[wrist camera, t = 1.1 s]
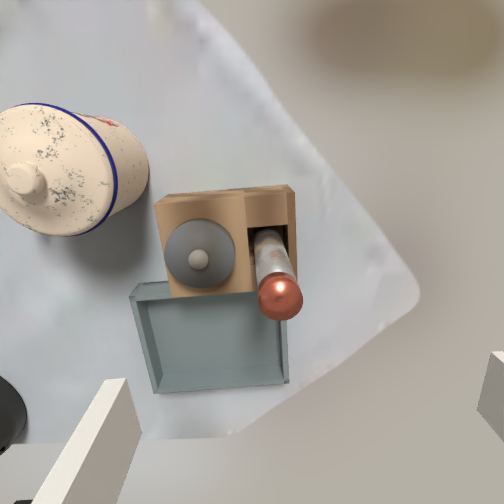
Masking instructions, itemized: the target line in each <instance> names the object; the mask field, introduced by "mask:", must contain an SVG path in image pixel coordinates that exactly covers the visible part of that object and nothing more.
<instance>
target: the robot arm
mask: <svg viewBox="0 0 504 504" xmlns="http://www.w3.org/2000/svg"><path fill="white" fill-rule="evenodd" d="M477 411H478V412H479V413H480V414H481V415H482V417H483V418H484V419H485V420H486V421H487V423H488V424H489V425H490V426H491V427H492V428H493V430H494V431H495V432H496V433H497V434H498V436H499V437H500V438H501V439H502V440H503V442H504V351H500V352H491V355H490V359H489V363H488V367H487V371H486V375H485V379H484V383H483V387H482V391H481V395H480V399H479V403H478V407H477ZM25 423H26V410H25V407H24V404H23V402H22V400H21V398H20V396H19V395H18V393H17V392H16V391H15V390H14V389H13V387H12V386H11V385H9V384H8V383H7V382H6V381H5V380H4V379H2V378H1V377H0V455H1V454H3V453H4V452H5V451H6V450H7V449H8V448H9V447H10V446H11V445H12V443H13V442H14V441H15V439H16V438H17V437H18V435H19V434H20V433H21V432H22V430H23V428H24V426H25ZM141 434H142V431H141V428H140V424H139V421H138V417H137V414H136V410H135V407H134V404H133V400H132V397H131V393H130V390H129V386H128V383H127V380H126V378H121V379H107V380H105V381H104V383H103V384H102V386H101V388H100V389H99V391H98V393H97V394H96V396H95V398H94V399H93V401H92V403H91V404H90V406H89V408H88V409H87V411H86V413H85V414H84V416H83V418H82V419H81V421H80V423H79V424H78V426H77V428H76V429H75V431H74V433H73V434H72V436H71V438H70V439H69V441H68V443H67V445H66V446H65V448H64V450H63V451H62V453H61V455H60V456H59V458H58V460H57V461H56V463H55V465H54V466H53V468H52V470H51V471H50V473H49V475H48V476H47V478H46V480H45V481H44V483H43V485H42V486H41V488H40V490H39V491H38V493H37V495H36V497H35V498H34V500H20V501H16V502H15V503H14V504H116V503H117V500H118V497H119V494H120V492H121V489H122V486H123V483H124V480H125V478H126V475H127V472H128V470H129V467H130V464H131V461H132V459H133V456H134V453H135V450H136V448H137V445H138V442H139V440H140V437H141Z"/></svg>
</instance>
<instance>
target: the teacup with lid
mask: <svg viewBox="0 0 504 504" xmlns="http://www.w3.org/2000/svg"><path fill="white" fill-rule="evenodd" d="M148 172H149V170H148V161H147V157H146V154H145V152H144V149H143V147H142V146H141V144H140V142H139V141H138V139H137V138H136V137H135V136H134V135H133V134H132V133H131V132H130V131H129V130H128V129H127V128H126V127H124V126H123V125H121V124H120V123H118V122H116V121H113V120H111V119H108V118H104V117H98V116H92V115H86V114H80V113H74V112H69V111H67V110H65V109H62V108H60V107H57V106H53V105H49V104H43V103H27V104H21V105H18V106H15V107H12V108H10V109H8V110H6V111H4V112H2V113H1V114H0V208H1V209H2V210H3V211H4V212H5V213H6V214H7V215H9V216H10V217H11V218H12V219H14V220H15V221H16V222H18V223H20V224H21V225H23V226H25V227H27V228H29V229H31V230H33V231H36V232H39V233H42V234H46V235H51V236H62V237H68V236H77V235H81V234H84V233H87V232H89V231H91V230H93V229H95V228H96V227H98V226H99V225H100V224H102V223H103V222H104V221H105V220H106V218H108V217H110V216H111V215H113V214H115V213H117V212H119V211H120V210H122V209H124V208H126V207H128V206H129V205H131V204H133V203H134V202H135V201H136V200H137V199H138V198H139V197H140V196H141V194H142V193H143V191H144V189H145V187H146V184H147V181H148Z"/></svg>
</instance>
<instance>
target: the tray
mask: <svg viewBox="0 0 504 504" xmlns="http://www.w3.org/2000/svg"><path fill="white" fill-rule="evenodd" d="M129 299H130V303H131V307H132V311H133V315H134V318H135V322H136V326H137V330H138V334H139V338H140V342H141V346H142V350H143V354H144V358H145V362H146V366H147V369H148V373H149V377H150V381H151V385H152V389H153V393H154V394H156V393H169V392H182V391H195V390H208V389H221V388H234V387H247V386H260V385H273V384H286V383H289V366H288V344H287V322H286V320H285V321H275V320H272V319H269V318H267V317H266V316H265V315H264V314H263V313H262V312H261V310H260V308H259V303H258V291H252V292H239V293H227V294H214V295H202V296H190V297H177V298H172V295H171V290H170V285H169V281H161V282H149V283H139V284H138V285H137V286H136V288H135V289H134V290H133V292H132V293H131V294H130V296H129Z"/></svg>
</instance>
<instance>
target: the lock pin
mask: <svg viewBox="0 0 504 504" xmlns="http://www.w3.org/2000/svg"><path fill="white" fill-rule="evenodd" d="M253 239H254V252H255V265H256V277H257V290H258V303H259V308H260V310H261V312H262V313H263V314H264V315H265V316H266V317H267V318H269V319H272V320H275V321H285V320H288V319H291V318H293V317H294V316H295V315H297V314H298V312H299V311H300V310H301V308H302V305H303V296H302V293H301V291H300V288H299V285H298V282H297V280H296V277H295V274H294V271H293V269H292V266H291V263H290V260H289V258H288V255H287V252H286V249H285V247H284V244H283V241H282V238H281V236H280V233H279V230H278V228H277V226H276V225H274V226H262V227H254V229H253Z"/></svg>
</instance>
